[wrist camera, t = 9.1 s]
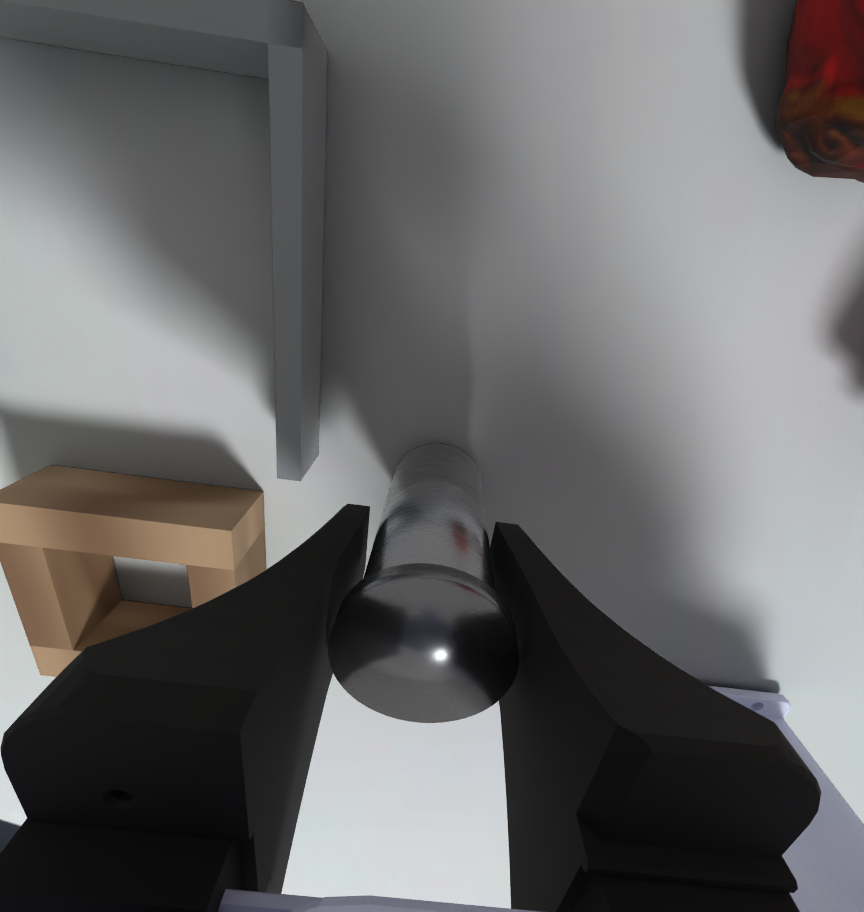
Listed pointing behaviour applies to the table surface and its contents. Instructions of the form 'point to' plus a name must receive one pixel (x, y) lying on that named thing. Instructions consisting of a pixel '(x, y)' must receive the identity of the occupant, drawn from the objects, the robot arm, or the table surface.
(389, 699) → the silver cylindrical piece
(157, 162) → the table surface
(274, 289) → the grey u-shaped bracket
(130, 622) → the wooden square frame
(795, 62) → the red clay folk toy
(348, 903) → the robot arm
